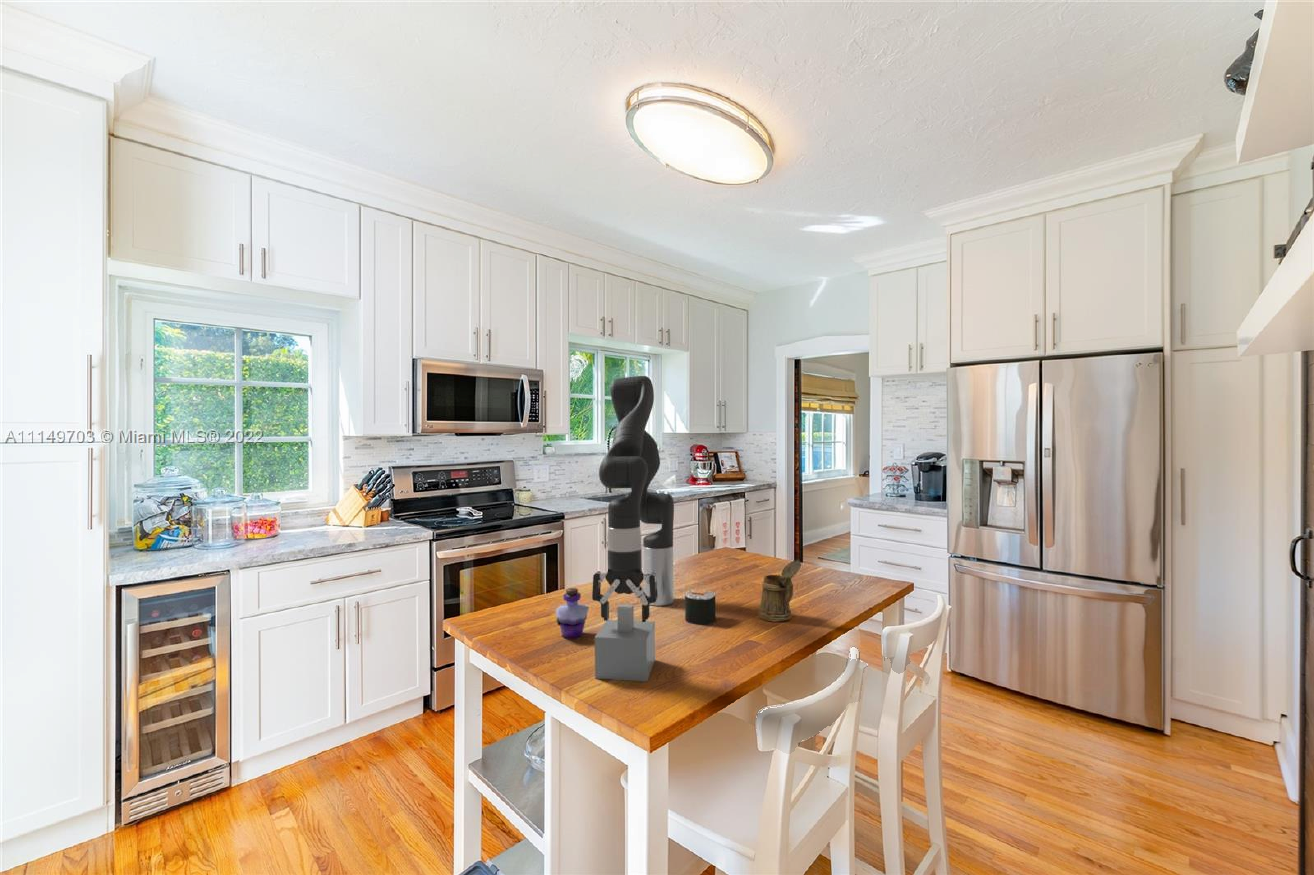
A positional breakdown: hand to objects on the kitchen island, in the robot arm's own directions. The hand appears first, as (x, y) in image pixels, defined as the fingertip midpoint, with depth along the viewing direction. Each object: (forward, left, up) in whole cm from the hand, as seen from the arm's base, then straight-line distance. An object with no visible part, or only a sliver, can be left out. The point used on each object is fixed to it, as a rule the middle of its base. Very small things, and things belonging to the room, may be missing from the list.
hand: (625, 620), depth 124 cm
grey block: (0, 0, -11) cm, 11 cm away
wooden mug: (-38, +36, -11) cm, 54 cm away
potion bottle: (-19, -18, -11) cm, 28 cm away
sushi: (-35, +14, -11) cm, 39 cm away
